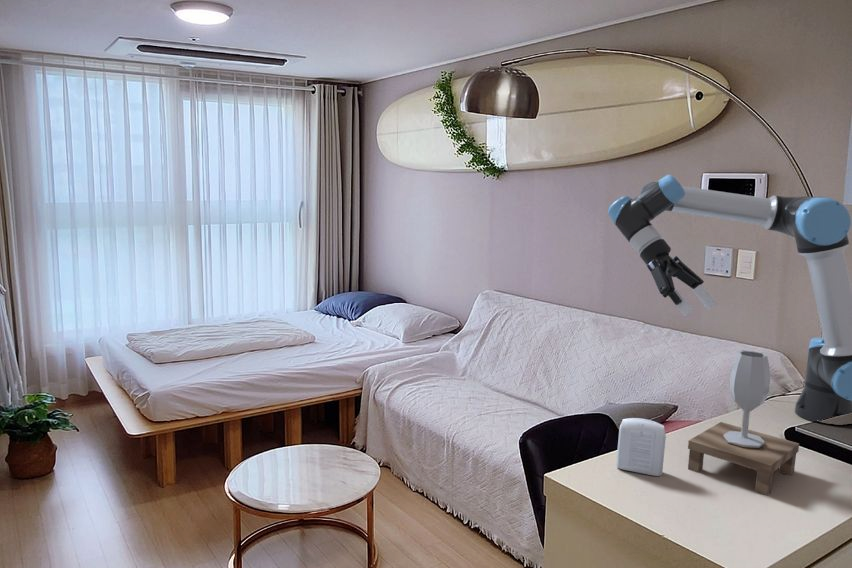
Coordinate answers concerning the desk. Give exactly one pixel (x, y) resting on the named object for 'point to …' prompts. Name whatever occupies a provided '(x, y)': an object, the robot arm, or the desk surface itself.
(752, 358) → the wineglass
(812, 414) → the robot arm
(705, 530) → the desk surface
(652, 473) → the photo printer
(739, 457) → the footstool
